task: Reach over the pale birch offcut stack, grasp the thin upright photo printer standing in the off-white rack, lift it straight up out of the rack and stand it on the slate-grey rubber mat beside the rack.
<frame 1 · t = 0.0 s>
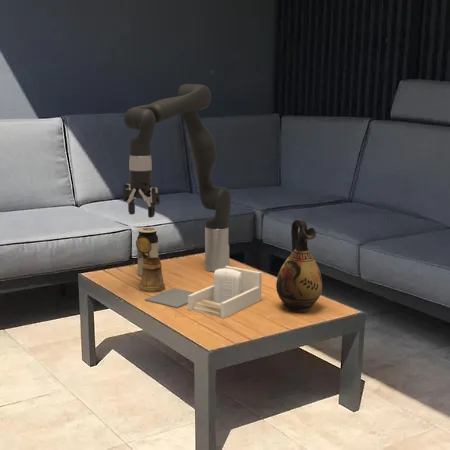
hand: (141, 215, 245), 29 cm above the table, fingers open, 8 cm apart
ceramic jug: (297, 307, 242), on the table
travel mug: (148, 274, 279), on the table
mat: (175, 298, 250), on the table
wooden mug: (149, 287, 263), on the table
rack: (226, 304, 244), on the table
photo printer: (227, 304, 245), resting in rack
offcut stack: (210, 312, 237), on the table
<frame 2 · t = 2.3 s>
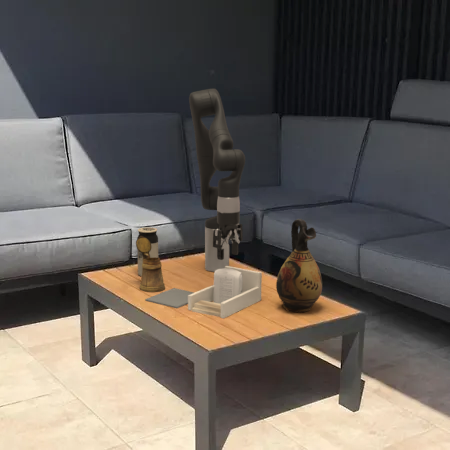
hand: (227, 256, 242), 17 cm above the table, fingers open, 8 cm apart
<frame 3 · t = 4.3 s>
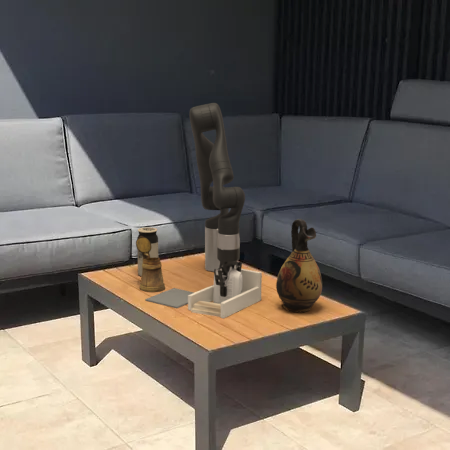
hand: (227, 294, 244), 3 cm above the table, fingers closed on photo printer, 5 cm apart
photo printer: (227, 304, 245), resting in rack, touching gripper
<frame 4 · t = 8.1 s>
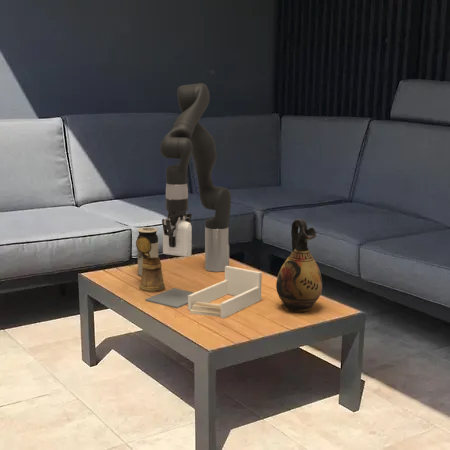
hand: (177, 245, 246), 19 cm above the table, fingers closed on photo printer, 5 cm apart
photo printer: (177, 255, 247), point 16 cm above the table, touching gripper
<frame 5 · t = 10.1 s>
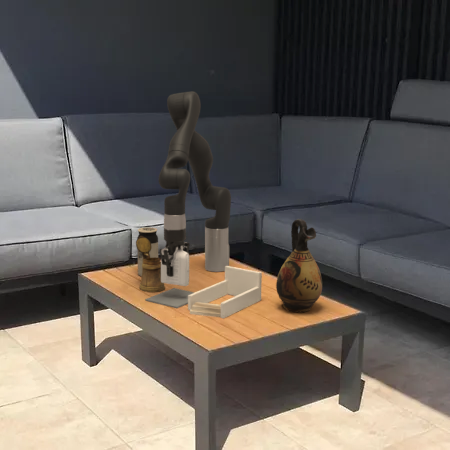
hand: (175, 274, 248), 9 cm above the table, fingers closed on photo printer, 5 cm apart
photo printer: (175, 284, 249), point 5 cm above the table, touching gripper
when the fingers open (5 cm above the table, at t = 11.7 s): photo printer drops 1 cm, resting on mat.
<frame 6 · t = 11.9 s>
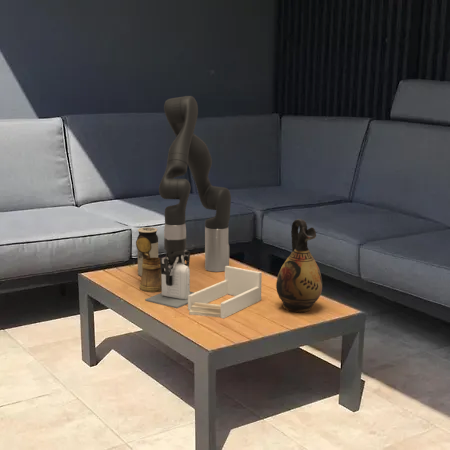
hand: (175, 282, 249), 6 cm above the table, fingers open, 6 cm apart
photo printer: (175, 297, 250), resting on mat
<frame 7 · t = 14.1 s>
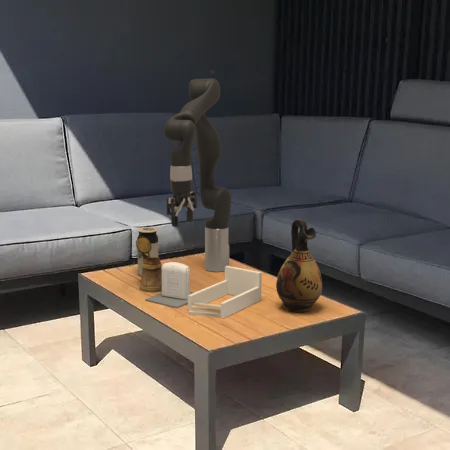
hand: (182, 223, 250), 25 cm above the table, fingers open, 8 cm apart
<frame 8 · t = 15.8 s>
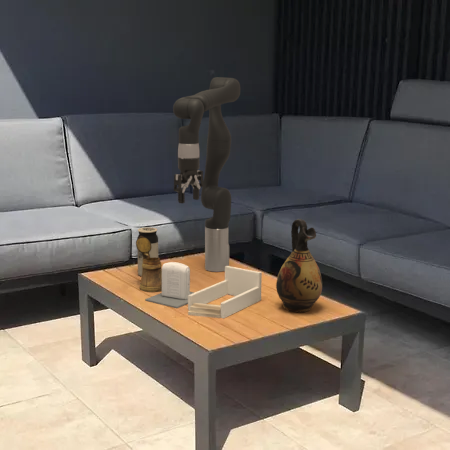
hand: (188, 201, 256), 32 cm above the table, fingers open, 8 cm apart
at the end: photo printer inside the target area on the mat (0.2 cm from its centre), point 0.3 cm above the mat's base; photo printer tilted 0°; the gripper is holding nothing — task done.
